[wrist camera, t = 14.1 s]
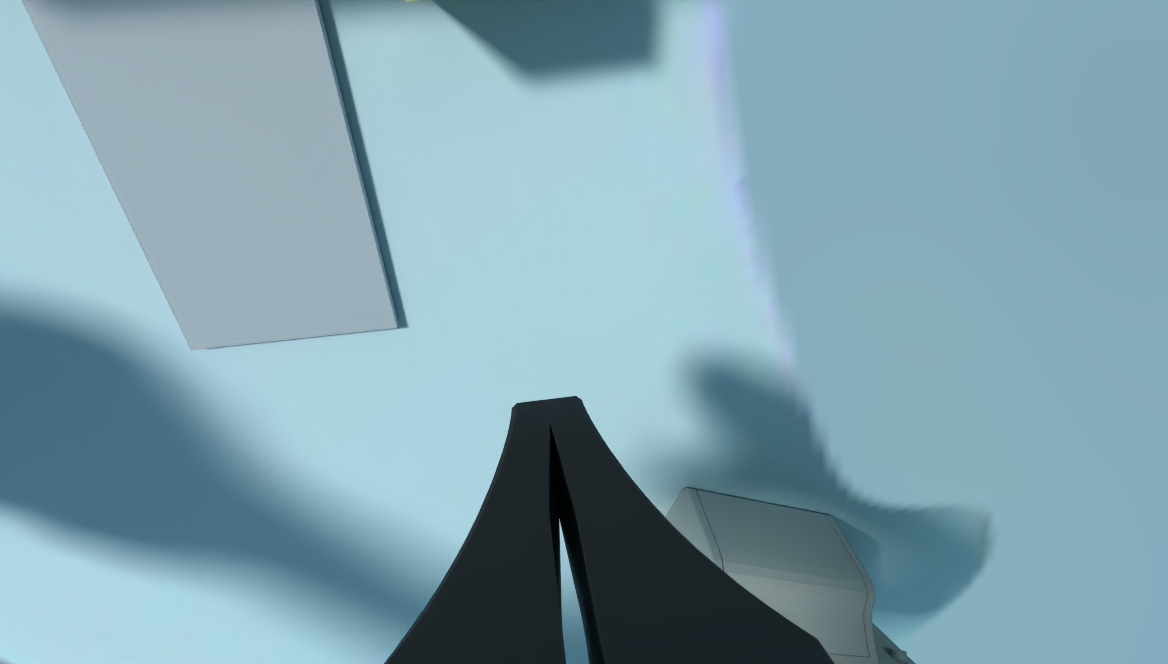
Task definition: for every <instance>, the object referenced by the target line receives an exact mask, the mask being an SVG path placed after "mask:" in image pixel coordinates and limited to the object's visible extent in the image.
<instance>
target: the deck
mask: <svg viewBox="0 0 1168 664" xmlns="http://www.w3.org/2000/svg"><path fill="white" fill-rule="evenodd" d="M22 2H23V4H24V6H25V8H26V10H27V12H28V14H29V16H30V18H31V21H32V23H33V25H34V27H35V29H36V31H37V33H38V35H39V37H40V39H41V41H42V43H43V45H44V47H45V49H46V51H47V54H48V56H49V58H50V60H51V62H52V64H53V66H54V68H55V70H56V72H57V74H58V76H59V78H60V80H61V82H62V85H63V87H64V89H65V91H66V93H67V95H68V97H69V99H70V101H71V103H72V105H73V107H74V109H75V111H76V113H77V116H78V118H79V120H80V122H81V124H82V126H83V128H84V130H85V132H86V134H87V136H88V138H89V140H90V142H91V144H92V147H93V149H94V151H95V153H96V155H97V157H98V159H99V161H100V163H101V165H102V167H103V169H104V171H105V173H106V175H107V178H108V180H109V182H110V184H111V186H112V188H113V190H114V192H115V194H116V196H117V198H118V200H119V202H120V204H121V206H122V209H123V211H124V213H125V215H126V217H127V219H128V221H129V223H130V225H131V227H132V229H133V231H134V233H135V235H136V237H137V239H138V242H139V244H140V246H141V248H142V250H143V252H144V254H145V256H146V258H147V260H148V262H149V264H150V266H151V268H152V270H153V273H154V275H155V277H156V279H157V281H158V283H159V285H160V287H161V289H162V291H163V293H164V295H165V297H166V299H167V301H168V304H169V306H170V308H171V310H172V312H173V314H174V316H175V318H176V320H177V322H178V324H179V326H180V328H181V330H182V332H183V335H184V337H185V339H186V341H187V343H188V345H189V347H190V349H191V350H196V349H205V348H214V347H224V346H233V345H243V344H252V343H261V342H271V341H280V340H289V339H299V338H308V337H318V336H327V335H336V334H346V333H355V332H364V331H374V330H383V329H393V328H397V326H398V319H397V315H396V311H395V307H394V303H393V299H392V295H391V291H390V287H389V283H388V279H387V275H386V271H385V267H384V263H383V259H382V255H381V251H380V247H379V243H378V239H377V235H376V231H375V227H374V223H373V219H372V215H371V210H370V206H369V202H368V198H367V194H366V190H365V186H364V182H363V178H362V174H361V170H360V166H359V162H358V158H357V154H356V150H355V146H354V142H353V138H352V134H351V130H350V126H349V122H348V118H347V114H346V110H345V106H344V102H343V98H342V94H341V90H340V86H339V82H338V78H337V74H336V70H335V66H334V62H333V58H332V54H331V50H330V46H329V42H328V38H327V34H326V30H325V26H324V22H323V18H322V14H321V10H320V6H319V2H318V0H22Z"/></svg>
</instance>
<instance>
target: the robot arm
mask: <svg viewBox="0 0 1168 664" xmlns="http://www.w3.org/2000/svg"><path fill="white" fill-rule="evenodd" d="M559 518H560V523H561V527H562V532H563V536H564V541H565V545H566V549H567V554H568V558H569V563H570V567H571V571H572V576H573V580H574V585H575V589H576V593H577V598H578V602H579V607H580V611H581V615H582V620H583V626H584V631H585V637H586V643H587V650H588V658H589V664H835V663H834V662H833V660H832V659H831V657H830V656H829V655H828V653H827V652H826V650H825V649H824V647H823V646H822V644H821V643H820V642H819V640H818V639H817V638H816V637H814V636H812V635H811V634H809V633H808V632H806V631H805V630H803V629H802V628H800V627H799V626H797V625H796V624H794V623H793V622H791V621H790V620H788V619H787V618H785V617H784V616H782V615H781V614H779V613H778V612H777V611H775V610H774V609H772V608H771V607H769V606H768V605H767V604H765V603H764V602H763V601H761V600H760V599H759V598H757V597H756V596H755V595H753V594H752V593H751V592H749V591H748V590H747V589H745V588H744V587H743V586H741V585H740V584H739V583H737V582H736V581H735V580H734V579H733V578H731V577H730V576H729V575H728V574H727V573H725V572H724V571H723V570H722V569H721V568H719V567H718V566H717V565H716V564H715V563H714V562H712V561H711V560H710V559H709V558H708V557H706V556H705V555H704V554H703V553H702V552H700V551H699V550H698V549H697V548H696V547H695V546H694V545H693V544H692V543H691V542H690V541H689V540H688V539H687V538H685V537H684V536H683V535H682V534H681V533H680V532H679V531H678V530H677V529H676V528H675V527H674V526H673V525H672V524H671V523H670V522H669V521H668V520H667V519H666V518H665V517H664V516H663V515H662V513H661V512H660V511H659V510H658V509H657V508H656V507H655V506H654V505H653V504H652V502H651V501H650V500H649V499H648V498H647V497H646V496H645V494H644V493H643V492H642V491H641V490H640V488H639V487H638V486H637V485H636V484H635V482H634V481H633V480H632V479H631V477H630V476H629V475H628V474H627V472H626V471H625V470H624V468H623V467H622V466H621V464H620V463H619V461H618V460H617V459H616V457H615V456H614V455H613V453H612V452H611V450H610V449H609V448H608V446H607V445H606V443H605V442H604V440H603V439H602V437H601V435H600V434H599V432H598V430H597V429H596V427H595V426H594V424H593V422H592V420H591V419H590V417H589V415H588V413H587V411H586V409H585V407H584V404H583V402H582V400H581V399H580V398H578V397H577V396H572V397H564V398H556V399H547V400H539V401H531V402H522V403H517V404H516V405H515V406H514V407H513V408H512V413H511V420H510V426H509V430H508V434H507V438H506V442H505V445H504V449H503V452H502V455H501V458H500V461H499V463H498V466H497V469H496V472H495V475H494V478H493V480H492V483H491V485H490V488H489V490H488V492H487V495H486V497H485V499H484V502H483V504H482V506H481V509H480V511H479V513H478V516H477V518H476V520H475V522H474V524H473V526H472V528H471V530H470V532H469V534H468V536H467V538H466V540H465V542H464V544H463V545H462V547H461V549H460V551H459V553H458V555H457V556H456V558H455V560H454V562H453V563H452V565H451V567H450V568H449V570H448V572H447V573H446V575H445V577H444V578H443V580H442V582H441V583H440V585H439V587H438V588H437V590H436V592H435V593H434V595H433V596H432V598H431V599H430V601H429V602H428V604H427V605H426V607H425V608H424V610H423V611H422V613H421V614H420V615H419V617H418V618H417V620H416V621H415V622H414V624H413V625H412V627H411V628H410V629H409V631H408V632H407V634H406V635H405V636H404V638H403V639H402V640H401V642H400V643H399V645H398V646H397V647H396V649H395V650H394V652H393V653H392V654H391V655H390V657H389V658H388V659H387V661H386V662H385V663H384V664H566V660H565V651H564V642H563V632H562V611H561V571H560V532H559Z"/></svg>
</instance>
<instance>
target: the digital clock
mask: <svg viewBox="0 0 1168 664" xmlns="http://www.w3.org/2000/svg"><path fill="white" fill-rule="evenodd" d="M665 518H666V519H667V520H668V521H669V522H670V523H671V524H672V525H673V526H674V527H675V528H676V529H677V530H678V531H679V532H680V533H681V534H682V535H683V536H684V537H685V538H687V539H688V540H689V541H690V542H691V543H692V544H693V545H694V546H695V547H696V548H697V549H698V550H699V551H700V552H702V553H703V554H704V555H705V556H706V557H708V558H709V559H710V560H711V561H712V562H714V563H715V564H716V565H717V566H718V567H719V568H721V569H722V570H723V571H724V572H725V573H727V574H728V575H729V576H730V577H731V578H733V579H734V580H735V581H736V582H737V583H739V584H740V585H741V586H743V587H744V588H745V589H747V590H748V591H749V592H751V593H752V594H753V595H755V596H756V597H757V598H759V599H760V600H761V601H763V602H764V603H765V604H767V605H768V606H769V607H771V608H772V609H774V610H775V611H777V612H778V613H779V614H781V615H782V616H784V617H785V618H787V619H788V620H790V621H791V622H793V623H794V624H796V625H797V626H799V627H800V628H802V629H803V630H805V631H806V632H808V633H809V634H811V635H812V636H814V637H816V638H817V639H818V640H819V642H820V643H821V644H822V646H823V647H824V649H825V650H826V652H827V653H828V655H829V656H830V657H831V659H832V660H833V662H834V663H835V664H915V663H914V662H913V661H912V660H911V659H910V658H909V657H908V656H907V655H906V652H905V651H902V650H900V649H899V648H898V647H897V646H896V645H895V644H894V643H893V642H892V641H891V640H890V639H889V638H888V637H887V636H886V635H885V634H884V633H883V632H882V631H880V630H879V629H878V628H877V627H876V626H875V625H874V624H873V623H872V614H871V612H872V608H873V604H874V598H875V591H874V587H873V584H872V582H871V580H870V578H869V576H868V574H867V572H866V570H865V569H864V567H863V565H862V564H861V562H860V560H859V559H858V557H857V556H856V554H855V552H854V551H853V549H852V547H851V546H850V544H849V543H848V541H847V539H846V538H845V536H844V534H843V533H842V531H841V530H840V528H839V526H838V525H837V523H836V522H835V520H834V518H833V517H832V516H830V515H825V514H820V513H815V512H810V511H805V510H800V509H794V508H789V507H784V506H779V505H774V504H769V503H763V502H758V501H753V500H748V499H743V498H738V497H732V496H727V495H722V494H717V493H712V492H707V491H701V490H696V489H691V488H685V489H683V491H682V492H681V493H680V495H679V496H678V498H677V499H676V501H675V502H674V504H673V506H672V507H671V509H670V510H669V512H668V513H667V515H666V516H665Z"/></svg>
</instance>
